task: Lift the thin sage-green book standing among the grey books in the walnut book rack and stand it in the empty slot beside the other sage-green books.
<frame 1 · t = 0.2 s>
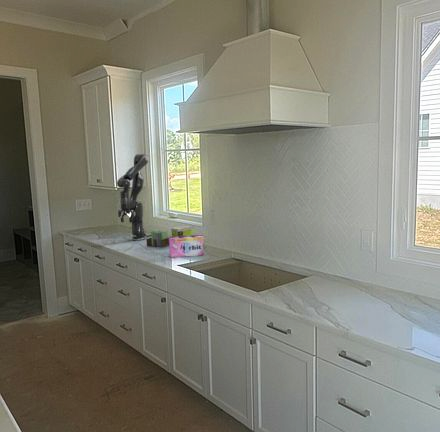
hand: (126, 222, 342), 17 cm above the worktop, tool pointing down, fingers open, 8 cm apart
grey books: (161, 239, 323), point 6 cm above the worktop
gum box: (186, 255, 294), on the worktop
tea box: (183, 245, 329), on the worktop
green books: (155, 238, 325), point 7 cm above the worktop
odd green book: (165, 246, 323), point 1 cm above the worktop, touching book rack
book rack: (158, 246, 325), on the worktop
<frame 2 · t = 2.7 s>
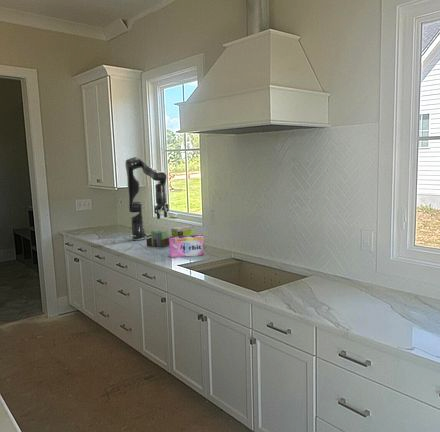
hand: (162, 218, 320), 23 cm above the worktop, tool pointing down, fingers open, 8 cm apart
nothing on the worktop moved.
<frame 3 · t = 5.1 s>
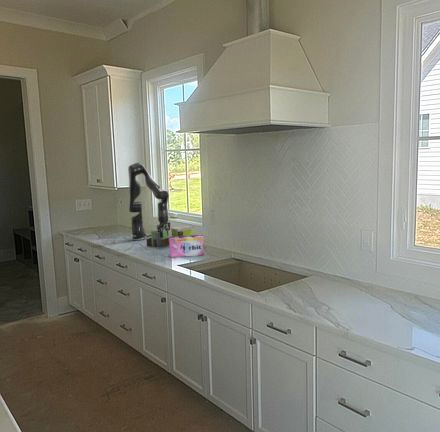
hand: (164, 236, 322), 9 cm above the worktop, tool pointing down, fingers closed on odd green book, 6 cm apart
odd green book: (165, 246, 323), point 1 cm above the worktop, touching book rack, gripper
everything else where it was.
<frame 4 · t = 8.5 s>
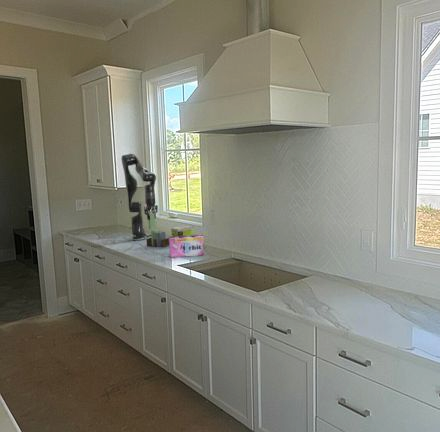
hand: (151, 219, 324), 22 cm above the worktop, tool pointing down, fingers closed on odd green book, 6 cm apart
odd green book: (152, 228, 325), point 15 cm above the worktop, touching gripper
everything else where it was.
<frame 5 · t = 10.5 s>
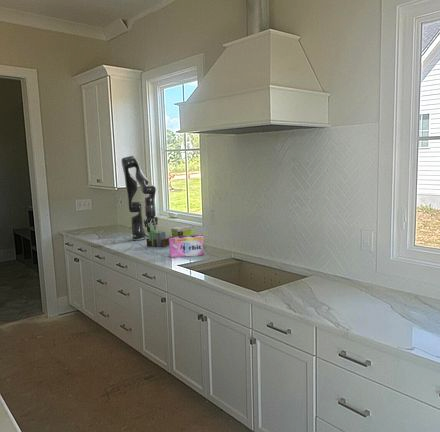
hand: (151, 231, 325), 12 cm above the worktop, tool pointing down, fingers closed on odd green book, 6 cm apart
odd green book: (152, 240, 326), point 5 cm above the worktop, touching gripper
everything else where it was.
when the fingers open (9 cm above the worktop, at t = 12.1 s): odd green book stays where it is, resting on book rack.
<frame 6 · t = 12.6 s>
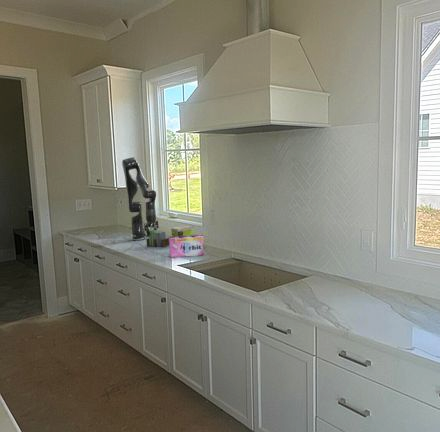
hand: (152, 234, 326), 10 cm above the worktop, tool pointing down, fingers open, 8 cm apart
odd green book: (152, 245, 327), point 1 cm above the worktop, touching book rack
everything else where it was.
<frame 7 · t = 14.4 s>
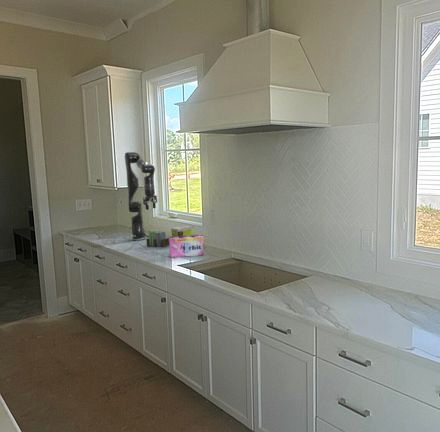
hand: (150, 208, 333), 29 cm above the worktop, tool pointing down, fingers open, 8 cm apart
nothing on the worktop moved.
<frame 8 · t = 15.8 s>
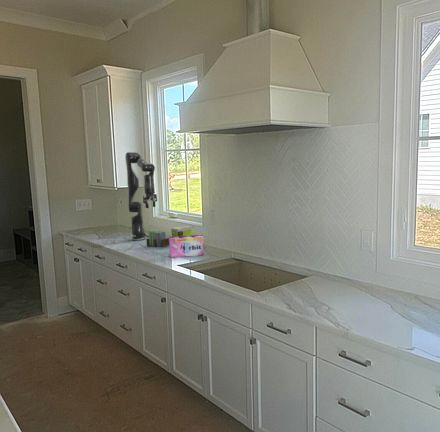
hand: (150, 207, 333), 30 cm above the worktop, tool pointing down, fingers open, 8 cm apart
nothing on the worktop moved.
at the end: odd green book 0.1 cm from the target spot on the book rack, point 1.0 cm above the book rack's base; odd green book tilted 0°; the gripper is holding nothing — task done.
